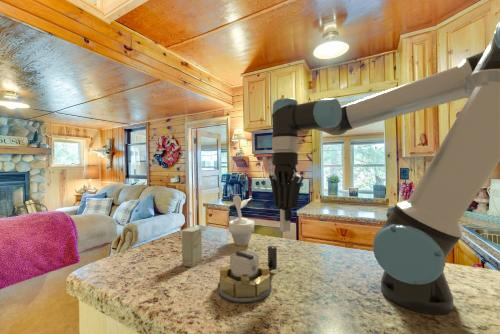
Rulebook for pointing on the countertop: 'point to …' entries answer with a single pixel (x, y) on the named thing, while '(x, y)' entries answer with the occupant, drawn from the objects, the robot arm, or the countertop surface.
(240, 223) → the potted plant
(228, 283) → the tan handled ring
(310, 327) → the countertop surface
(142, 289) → the countertop surface
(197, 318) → the countertop surface
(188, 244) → the skincare box
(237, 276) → the housing
